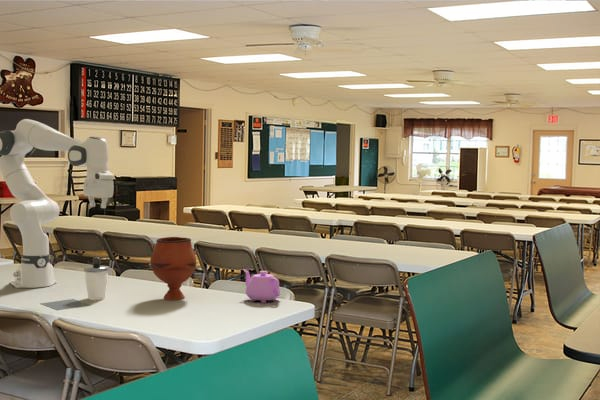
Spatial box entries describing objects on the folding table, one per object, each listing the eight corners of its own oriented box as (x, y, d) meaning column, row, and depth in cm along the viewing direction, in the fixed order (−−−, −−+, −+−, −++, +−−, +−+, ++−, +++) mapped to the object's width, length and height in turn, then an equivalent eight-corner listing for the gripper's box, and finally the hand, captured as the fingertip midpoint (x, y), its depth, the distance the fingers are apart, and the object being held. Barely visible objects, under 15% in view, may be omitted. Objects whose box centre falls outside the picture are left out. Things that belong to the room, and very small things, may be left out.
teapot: (232, 299, 291) (232, 270, 291) (255, 294, 302) (255, 266, 302) (268, 306, 279) (268, 275, 278) (290, 300, 290) (291, 271, 289)
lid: (79, 270, 289) (79, 257, 289) (101, 267, 296) (101, 255, 296) (91, 273, 282) (91, 260, 282) (113, 270, 289) (113, 257, 288)
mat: (39, 304, 278) (39, 303, 278) (73, 299, 288) (73, 298, 288) (57, 310, 266) (57, 310, 266) (91, 305, 276) (91, 305, 276)
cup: (101, 301, 284) (101, 272, 284) (81, 300, 286) (81, 271, 285) (112, 297, 293) (111, 268, 292) (92, 296, 295) (91, 268, 294)
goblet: (165, 292, 305) (165, 235, 304) (205, 295, 299) (205, 237, 297) (141, 300, 287) (141, 240, 286) (183, 304, 281) (182, 242, 279)
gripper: (79, 174, 303) (79, 206, 304) (102, 175, 288) (102, 209, 289) (93, 174, 308) (93, 205, 308) (116, 175, 293) (116, 208, 294)
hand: (98, 207), depth 299 cm, fingers open, 8 cm apart
